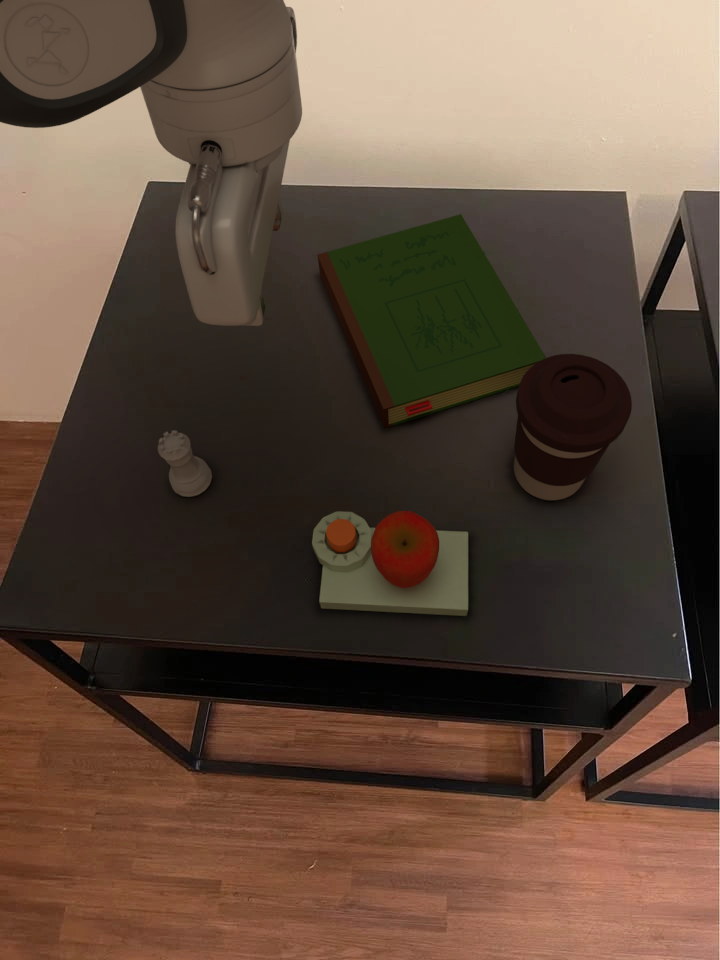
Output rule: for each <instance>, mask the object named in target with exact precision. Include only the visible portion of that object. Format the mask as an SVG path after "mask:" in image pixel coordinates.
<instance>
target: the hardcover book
mask: <svg viewBox="0 0 720 960" xmlns="http://www.w3.org/2000/svg"><path fill="white" fill-rule="evenodd" d="M317 262H318V263H317V264H318V270H319V276H320V280H321V282H322V284H323V286H324V290H325V291H326V294H327V297H328V299H329V300H330V303H331V305H332V308H333V310H334V313H335V315H336V317H337V319H338V322H339V324H340V326H341V329H342V332H343V334H344V336H345V338H346V341H347V343H348V346H349V348H350V351H351V353H352V355H353V357H354V360H355V361H356V362H355V363H356V365H357V367H358V369H359V372H360V374H361V377H362V379H363V381H364V384H365V386H366V388H367V391H368V393H369V395H370V398H371V401H372V402H373V404H374V407H375V410H376V412H377V415H378V417H379V419H380V422H381V424H382V426H383V429H388V428H391V427H394V426H397V425H401V424H404V423H407V422H410V421H413V420H417V419H420V418H423V417H426V416H430V415H433V414H436V413H439V412H442V411H446V410H449V409H451V408H455V407H458V406H461V405H465V404H468V403H471V402H475V401H478V400H481V399H483V398H487V397H490V396H493V395H497V394H500V393H502V392H507V391H509V390H513V389H516V388H519V384H520V382H521V379H522V377H523V376H524V374H525V373H526V372H527V371H528V369H530V368H531V367H532V366H533V365H534V364H536V363H537V362H539V361H541V360H543V359H545V358H547V356H546V355H545V353H544V352H543V349H542V348H541V346H540V345H539V343H538V341H537V340H536V338H535V336H534V334H533V333H532V331H531V330H530V327H528V325H527V322H526V321H525V319H524V318H523V316H522V314H521V313H520V311H519V308H517V306H516V303H515V302H514V301H513V299H512V298H511V296H510V294H509V292H508V290H507V288H506V287H505V286H504V284H503V283H502V281H501V278H499V275H498V274H497V272H496V271H495V269H494V267H493V265H492V264H491V262H490V260H489V259H488V257H487V255H486V253H485V252H484V251H483V249H482V247H481V245H480V244H479V242H478V240H477V239H476V236H475V235H474V233H473V232H472V230H471V229H470V227H469V225H468V224H467V222H466V220H465V218H464V216H463V215H462V214H461V213H460V214H456V215H453V216H449V217H446V218H442V219H439V220H435V221H432V222H428V223H425V224H421V225H418V226H417V225H416V226H414V227H410V228H407V229H403V230H400V231H399V230H398V231H395V232H393V233H388V234H385V235H381V236H378V237H375V238H371V239H368V240H363V241H361V242H356V243H354V244H350V245H346V246H343V247H340V248H335V249H331V250H328V251H326V252H322V253H318V254H317Z"/></svg>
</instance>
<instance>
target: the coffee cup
mask: <svg viewBox="0 0 720 960" xmlns="http://www.w3.org/2000/svg"><path fill="white" fill-rule="evenodd" d="M517 388H518V389H517V393H516V398H515V408H516V413H517V420H516V426H515V427H516V428H515V435H514V436H515V437H514V445H513V449H514V461H513V473H514V476H515V478H516V481H517V482H518V484H519V485H520V487H521V488H522V489H523V490H524V491H525V492H527V493H528V494H530V495H531V496H533V497H536V498H537V499H540V500H544V501H559V500H564V499H566V498H568V497H571V496H572V495H574V494H575V493H577V491H578V490H580V488H581V487H582V485H583V484H584V482H585V480H586V479H587V477H589V476H590V475H591V474H592V473H593V471H594V470H595V468H596V467H597V465H598V463H599V462H600V460H601V459H602V458H603V456H604V454H605V453H606V451H607V449H608V448H609V447H610V445H611V443H613V442H614V441H616V440H617V439H618V438H619V437H620V435H621V434H622V433H623V431H624V430H625V428H626V426H627V424H628V421H629V419H630V417H631V415H632V414H631V413H632V408H633V401H632V395H631V392H630V389H629V387H628V384H627V383H626V381H625V380H624V378H623V377H622V376H621V375H620V374H619V373H618V371H616V370H615V369H614V368H612V366H610V365H608V364H607V363H605V362H603V361H602V360H599V359H597V358H595V357H592V356H588V355H583V354H576V353H560V354H554V355H550V356H548V357H546V358H545V359H543V360H541V361H539V362H537V363H536V364H534V365H533V366H532V367H531V368H530V369H528V371H527V372H526V373H525V374H524V376H523V377H522V379H521V382H520V384H519V387H517Z"/></svg>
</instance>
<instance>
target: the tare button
mask: <svg viewBox="0 0 720 960" xmlns="http://www.w3.org/2000/svg"><path fill="white" fill-rule="evenodd" d="M326 536H327V540H328V544H329V546H330V548H331V549H332V550H334V551H336V552H339V553H344V552H348V551H350V550H351V549H352V548H353V547H354V546H355V544H356V541H357V537H356V530H355V527H354V525H353V524H352V523H351V522H350V521H348V520H346V519H337V520H334V521H333V522H331V523H330V524H329V526H328V527H327V530H326Z"/></svg>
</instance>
